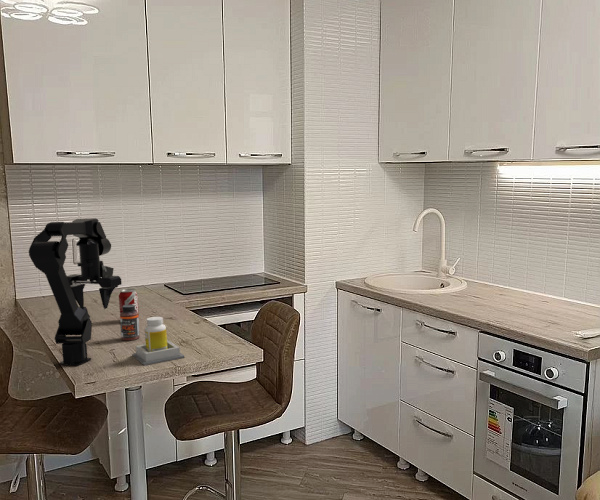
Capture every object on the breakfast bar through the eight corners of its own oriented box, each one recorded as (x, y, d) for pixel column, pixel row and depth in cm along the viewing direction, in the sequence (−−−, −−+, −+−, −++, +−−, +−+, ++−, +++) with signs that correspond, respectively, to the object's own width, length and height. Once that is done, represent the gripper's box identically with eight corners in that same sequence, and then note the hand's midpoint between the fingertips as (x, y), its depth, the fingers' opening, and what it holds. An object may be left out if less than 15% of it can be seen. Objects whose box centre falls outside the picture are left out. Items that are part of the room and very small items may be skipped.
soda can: (120, 324, 215) (117, 292, 213) (120, 320, 221) (118, 289, 220) (139, 322, 216) (137, 290, 215) (139, 318, 223) (137, 287, 221)
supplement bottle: (121, 342, 190) (118, 308, 189) (121, 337, 196) (119, 304, 194) (140, 340, 192) (137, 306, 190) (139, 335, 197) (137, 303, 196)
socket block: (144, 365, 164) (143, 355, 164) (132, 355, 174) (131, 345, 174) (184, 357, 170) (183, 347, 170) (170, 348, 180) (170, 339, 180)
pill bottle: (172, 352, 174) (169, 316, 172) (159, 358, 168) (156, 321, 167) (155, 350, 176) (153, 315, 175) (142, 356, 171) (139, 320, 169)
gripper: (130, 255, 185) (134, 303, 186) (83, 254, 191) (87, 301, 193) (107, 260, 174) (111, 311, 176) (58, 259, 181) (63, 308, 183)
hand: (93, 307), depth 182 cm, fingers open, 9 cm apart
